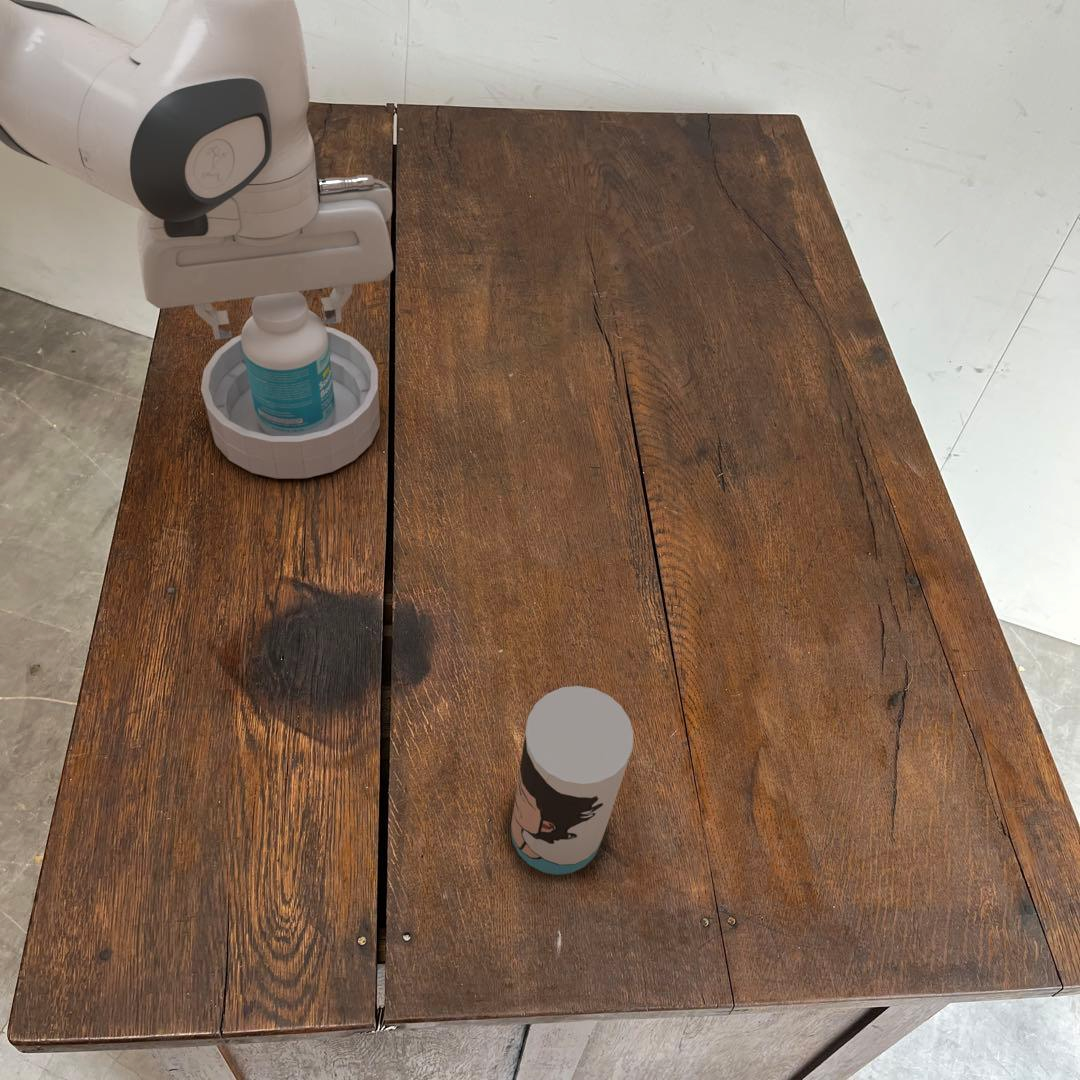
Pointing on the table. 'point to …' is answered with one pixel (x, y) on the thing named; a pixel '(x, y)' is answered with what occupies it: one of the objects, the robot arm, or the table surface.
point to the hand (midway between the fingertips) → (277, 326)
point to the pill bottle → (288, 366)
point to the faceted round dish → (293, 454)
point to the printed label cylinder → (569, 777)
